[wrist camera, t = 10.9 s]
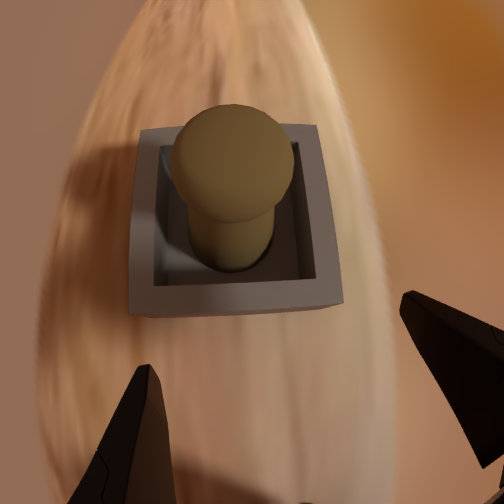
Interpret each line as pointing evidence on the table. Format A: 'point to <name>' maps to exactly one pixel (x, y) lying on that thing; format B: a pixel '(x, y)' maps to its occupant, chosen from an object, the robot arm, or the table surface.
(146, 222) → the holder block
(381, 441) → the table surface
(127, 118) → the table surface
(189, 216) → the cork
